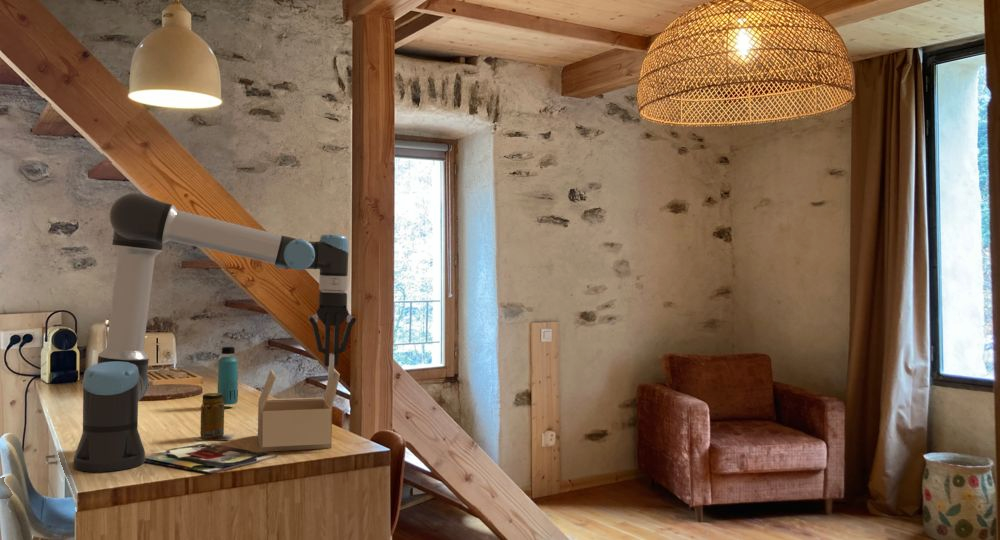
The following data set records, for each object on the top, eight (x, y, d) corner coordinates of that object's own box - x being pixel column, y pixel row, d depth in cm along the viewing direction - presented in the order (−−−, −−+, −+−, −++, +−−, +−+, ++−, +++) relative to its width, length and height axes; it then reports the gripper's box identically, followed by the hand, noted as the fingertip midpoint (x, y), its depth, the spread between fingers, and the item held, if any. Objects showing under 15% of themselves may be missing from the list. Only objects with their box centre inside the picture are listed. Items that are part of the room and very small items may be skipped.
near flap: (262, 411, 199) (262, 447, 196) (262, 411, 199) (262, 447, 196) (330, 408, 205) (331, 443, 202) (330, 408, 204) (331, 443, 202)
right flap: (330, 407, 205) (338, 374, 206) (323, 398, 220) (331, 366, 220) (332, 408, 206) (340, 374, 206) (325, 398, 220) (333, 367, 220)
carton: (259, 451, 199) (260, 412, 199) (257, 438, 214) (258, 401, 214) (331, 448, 205) (332, 410, 205) (324, 434, 220) (325, 399, 220)
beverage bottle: (229, 410, 253) (230, 348, 253) (212, 408, 255) (213, 347, 255) (242, 406, 259) (243, 346, 259) (225, 405, 261) (226, 345, 261)
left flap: (260, 410, 200) (273, 377, 201) (258, 400, 214) (270, 369, 215) (262, 411, 200) (275, 377, 201) (260, 400, 214) (272, 369, 215)
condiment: (202, 435, 217) (203, 392, 217) (234, 435, 218) (235, 392, 218) (195, 441, 210) (196, 396, 209) (227, 441, 210) (228, 396, 210)
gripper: (310, 291, 207) (307, 380, 207) (358, 292, 211) (356, 379, 211) (307, 290, 214) (305, 376, 214) (354, 291, 218) (352, 375, 218)
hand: (330, 378), depth 213 cm, fingers closed
